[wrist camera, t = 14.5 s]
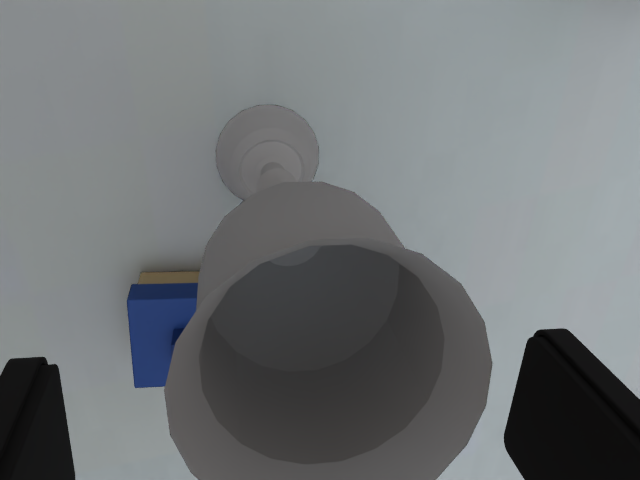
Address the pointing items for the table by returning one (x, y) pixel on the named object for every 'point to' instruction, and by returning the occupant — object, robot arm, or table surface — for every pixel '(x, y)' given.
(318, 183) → the chalice
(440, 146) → the table surface
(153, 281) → the brush
